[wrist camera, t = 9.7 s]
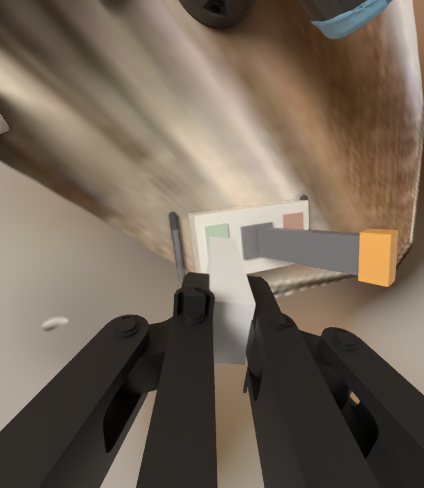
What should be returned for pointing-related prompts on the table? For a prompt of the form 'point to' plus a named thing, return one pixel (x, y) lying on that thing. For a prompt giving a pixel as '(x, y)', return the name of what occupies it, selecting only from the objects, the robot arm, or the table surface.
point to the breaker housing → (245, 230)
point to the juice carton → (3, 125)
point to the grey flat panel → (178, 245)
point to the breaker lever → (335, 251)
